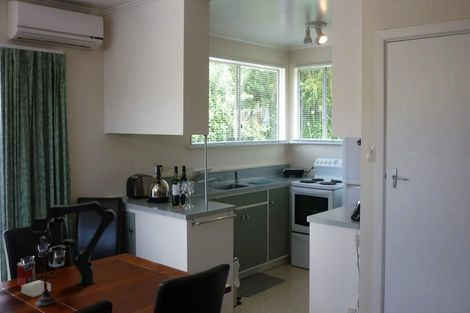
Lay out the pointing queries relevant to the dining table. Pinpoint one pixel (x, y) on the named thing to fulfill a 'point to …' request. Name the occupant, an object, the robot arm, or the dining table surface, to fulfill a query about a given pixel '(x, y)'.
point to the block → (55, 263)
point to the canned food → (25, 275)
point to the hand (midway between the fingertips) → (56, 263)
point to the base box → (35, 288)
